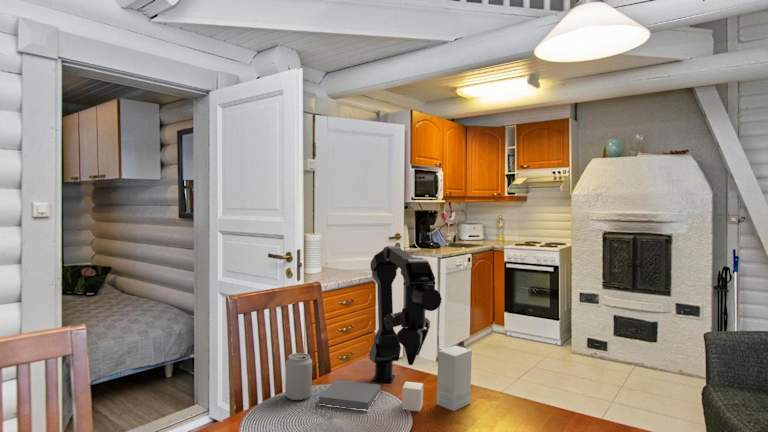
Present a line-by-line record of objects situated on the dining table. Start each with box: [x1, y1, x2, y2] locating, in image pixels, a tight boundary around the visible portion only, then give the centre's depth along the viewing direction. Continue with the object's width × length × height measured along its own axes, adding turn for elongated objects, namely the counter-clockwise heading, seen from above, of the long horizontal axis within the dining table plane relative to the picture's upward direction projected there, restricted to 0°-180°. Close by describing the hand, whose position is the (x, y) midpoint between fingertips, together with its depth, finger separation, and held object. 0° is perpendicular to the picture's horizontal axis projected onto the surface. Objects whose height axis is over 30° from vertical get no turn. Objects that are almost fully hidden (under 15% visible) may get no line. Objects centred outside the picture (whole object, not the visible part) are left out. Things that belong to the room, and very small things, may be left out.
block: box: [401, 381, 424, 413], centre depth 129 cm, size 5×5×6 cm
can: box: [284, 352, 313, 401], centre depth 134 cm, size 8×8×12 cm
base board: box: [318, 379, 382, 410], centre depth 133 cm, size 14×14×2 cm
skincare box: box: [436, 345, 473, 412], centre depth 131 cm, size 8×7×16 cm
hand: (413, 359), depth 129 cm, fingers open, 9 cm apart
